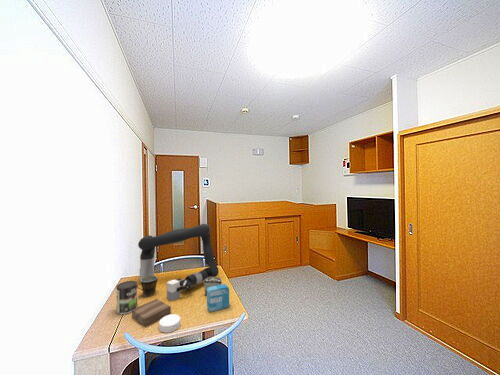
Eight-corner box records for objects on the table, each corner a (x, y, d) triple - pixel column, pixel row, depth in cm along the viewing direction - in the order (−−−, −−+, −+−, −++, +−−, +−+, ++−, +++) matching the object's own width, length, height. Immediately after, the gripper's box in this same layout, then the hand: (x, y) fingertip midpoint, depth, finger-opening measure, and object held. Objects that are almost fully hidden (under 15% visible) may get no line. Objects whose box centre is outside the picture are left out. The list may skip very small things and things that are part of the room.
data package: (208, 312, 119) (208, 290, 119) (206, 308, 123) (206, 287, 123) (229, 307, 124) (229, 286, 124) (226, 303, 128) (226, 283, 128)
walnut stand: (132, 317, 115) (132, 309, 115) (156, 305, 127) (156, 298, 127) (145, 327, 107) (145, 319, 107) (170, 313, 118) (170, 306, 118)
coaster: (184, 321, 112) (183, 314, 112) (174, 334, 102) (174, 326, 102) (166, 319, 113) (166, 312, 113) (154, 332, 103) (154, 324, 103)
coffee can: (141, 306, 126) (141, 281, 126) (125, 316, 117) (125, 289, 117) (128, 303, 130) (128, 279, 130) (112, 312, 120) (111, 287, 120)
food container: (224, 292, 142) (224, 276, 142) (222, 296, 136) (222, 280, 136) (206, 291, 143) (205, 276, 143) (203, 296, 137) (202, 280, 137)
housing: (166, 298, 135) (166, 282, 135) (174, 294, 139) (174, 279, 139) (172, 301, 132) (171, 284, 132) (179, 297, 136) (179, 281, 136)
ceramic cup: (152, 289, 147) (152, 274, 147) (160, 293, 142) (160, 277, 142) (132, 297, 137) (132, 281, 137) (141, 301, 131) (141, 285, 131)
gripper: (187, 271, 152) (166, 279, 140) (200, 276, 144) (179, 285, 131) (187, 282, 152) (166, 291, 140) (200, 287, 144) (179, 297, 131)
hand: (172, 288), depth 135 cm, fingers open, 8 cm apart
